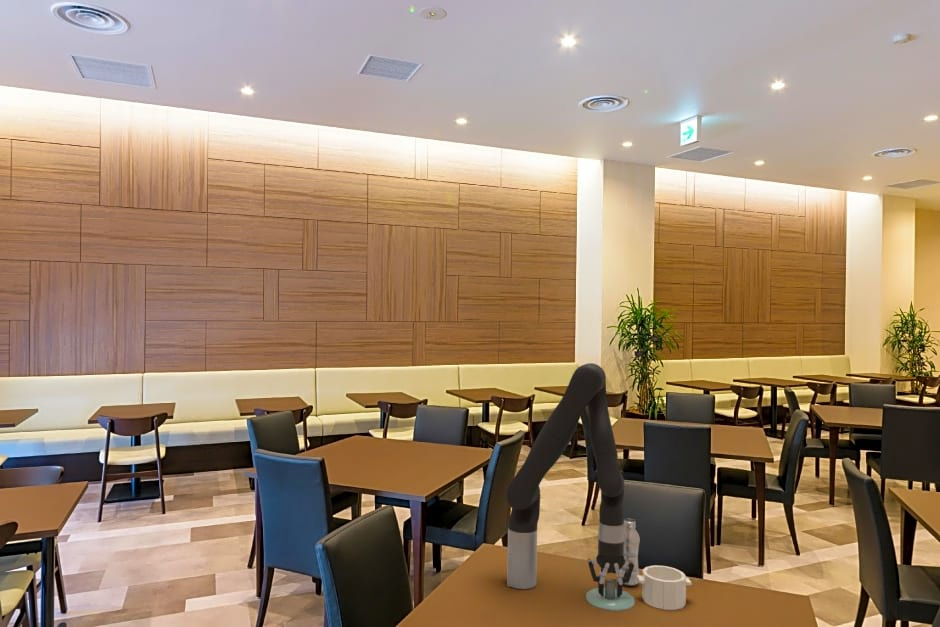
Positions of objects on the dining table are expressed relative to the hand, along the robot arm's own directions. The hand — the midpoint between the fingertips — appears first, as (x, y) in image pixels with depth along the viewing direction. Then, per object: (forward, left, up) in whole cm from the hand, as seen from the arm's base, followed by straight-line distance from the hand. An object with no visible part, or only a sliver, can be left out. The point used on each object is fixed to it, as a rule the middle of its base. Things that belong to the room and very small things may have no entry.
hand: (610, 595), depth 182 cm
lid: (0, 0, -2) cm, 2 cm away
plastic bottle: (+8, +12, -1) cm, 14 cm away
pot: (+16, +1, -1) cm, 16 cm away
